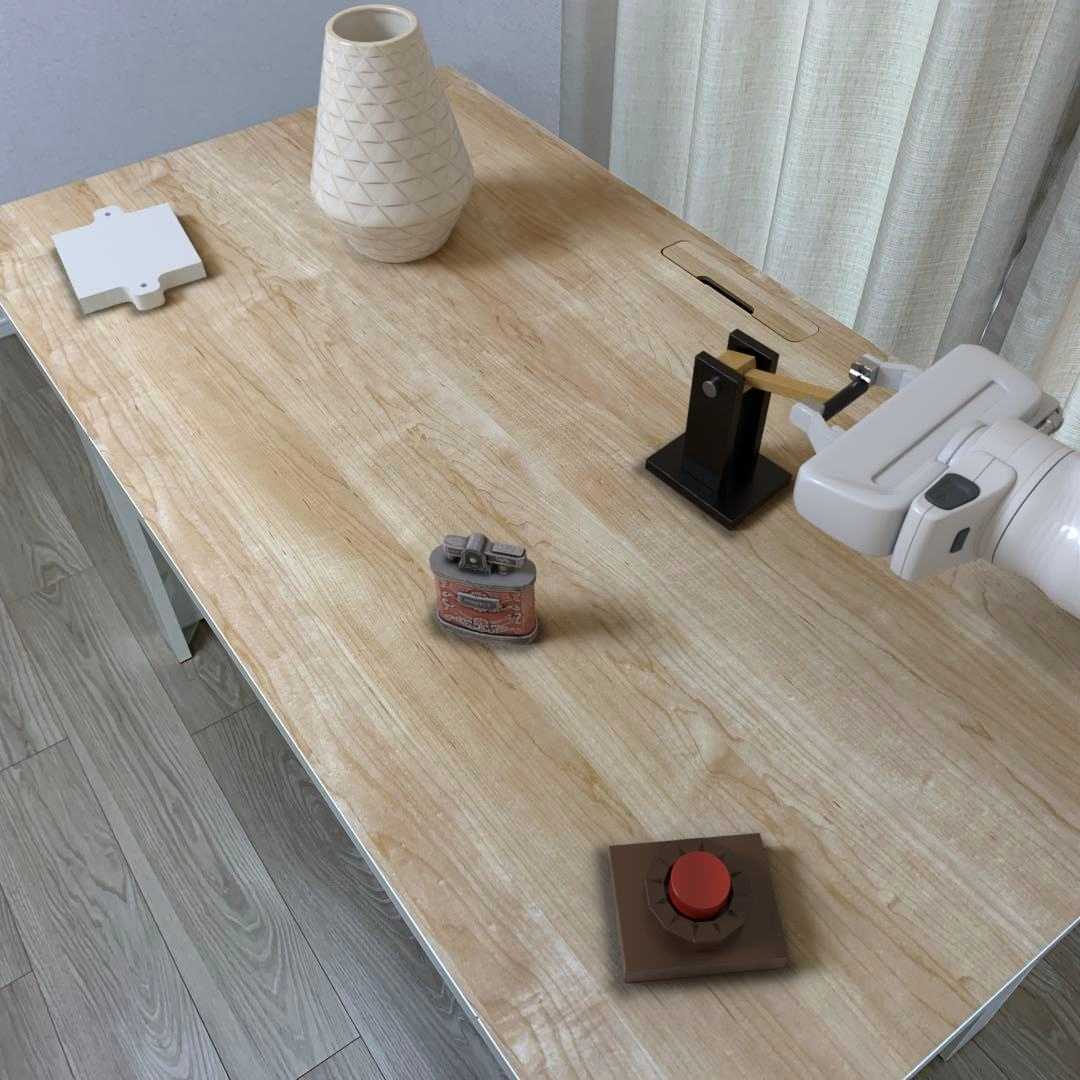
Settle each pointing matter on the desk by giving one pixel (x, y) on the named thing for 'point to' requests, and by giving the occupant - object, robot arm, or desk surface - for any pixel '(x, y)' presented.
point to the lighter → (485, 589)
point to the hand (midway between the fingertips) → (826, 386)
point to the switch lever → (793, 384)
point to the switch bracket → (723, 440)
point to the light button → (699, 885)
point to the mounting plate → (128, 257)
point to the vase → (386, 138)
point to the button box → (687, 943)
